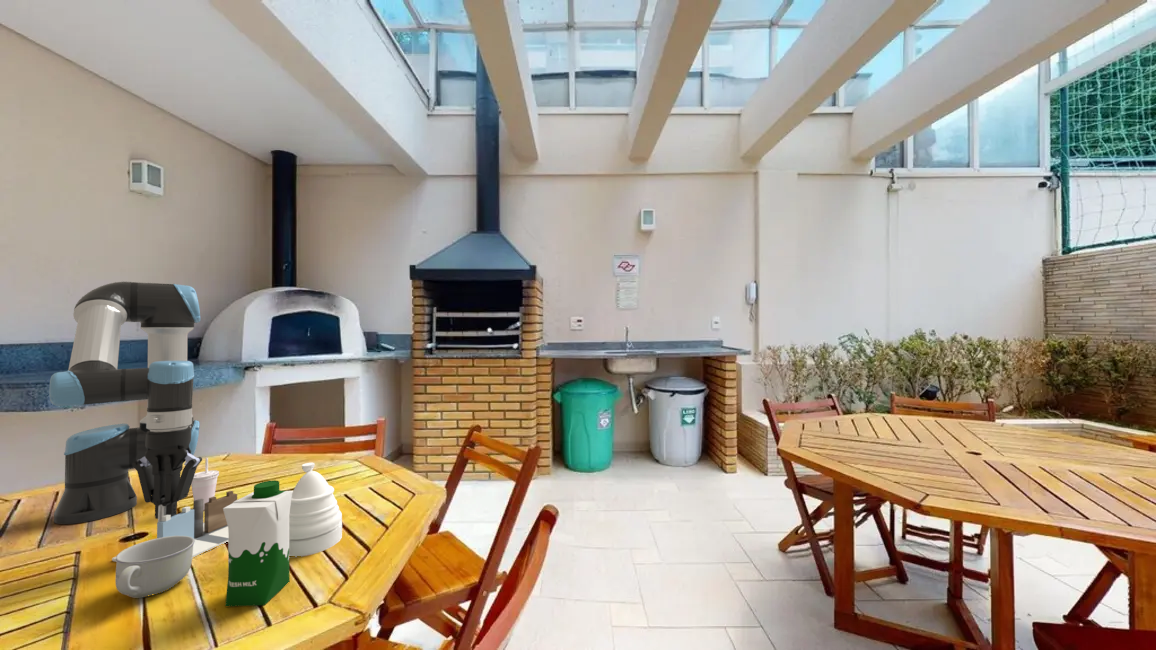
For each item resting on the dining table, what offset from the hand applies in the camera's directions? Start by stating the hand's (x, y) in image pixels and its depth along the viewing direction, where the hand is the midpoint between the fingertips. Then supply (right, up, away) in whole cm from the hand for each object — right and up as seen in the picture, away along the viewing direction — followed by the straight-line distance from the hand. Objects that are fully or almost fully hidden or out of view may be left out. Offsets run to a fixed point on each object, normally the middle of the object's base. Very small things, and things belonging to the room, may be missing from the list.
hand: (165, 531), depth 95 cm
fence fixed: (+4, -4, +9) cm, 10 cm away
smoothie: (-12, -5, +23) cm, 26 cm away
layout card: (+3, -4, +4) cm, 6 cm away
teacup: (+12, -4, -16) cm, 20 cm away
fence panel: (+2, -3, 0) cm, 4 cm away
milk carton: (+34, -4, -16) cm, 38 cm away
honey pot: (+31, -4, +3) cm, 32 cm away
